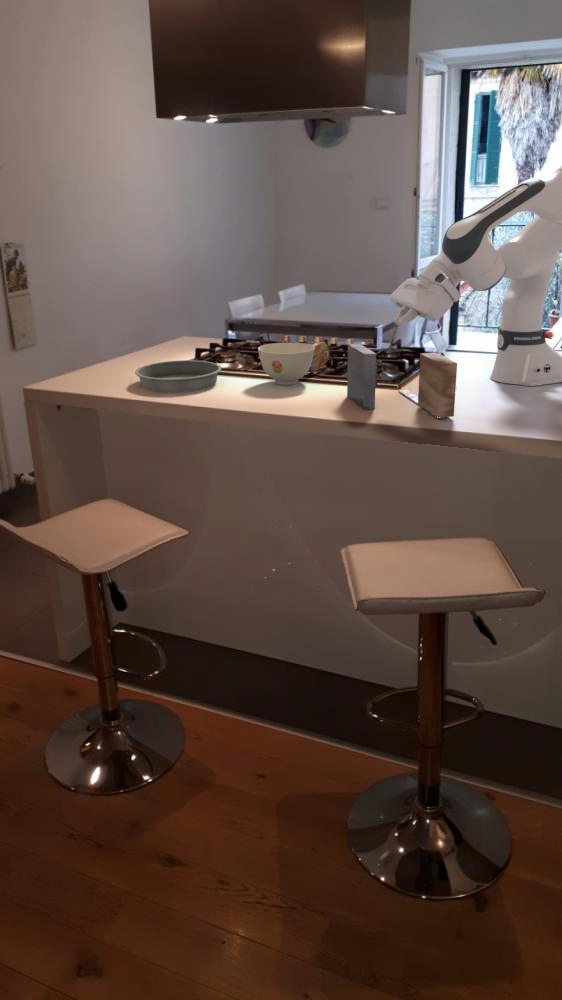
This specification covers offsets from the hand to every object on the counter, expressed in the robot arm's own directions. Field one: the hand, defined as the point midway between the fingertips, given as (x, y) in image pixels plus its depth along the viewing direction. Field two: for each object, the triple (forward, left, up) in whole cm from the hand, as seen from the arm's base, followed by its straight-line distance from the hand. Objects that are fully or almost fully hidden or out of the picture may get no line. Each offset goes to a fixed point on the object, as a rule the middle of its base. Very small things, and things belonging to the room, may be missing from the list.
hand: (397, 324), depth 200 cm
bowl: (+21, -31, -21) cm, 43 cm away
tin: (+9, -43, -21) cm, 48 cm away
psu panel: (+1, +2, -20) cm, 20 cm away
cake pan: (+51, -39, -21) cm, 68 cm away
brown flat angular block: (-7, +11, -20) cm, 24 cm away
